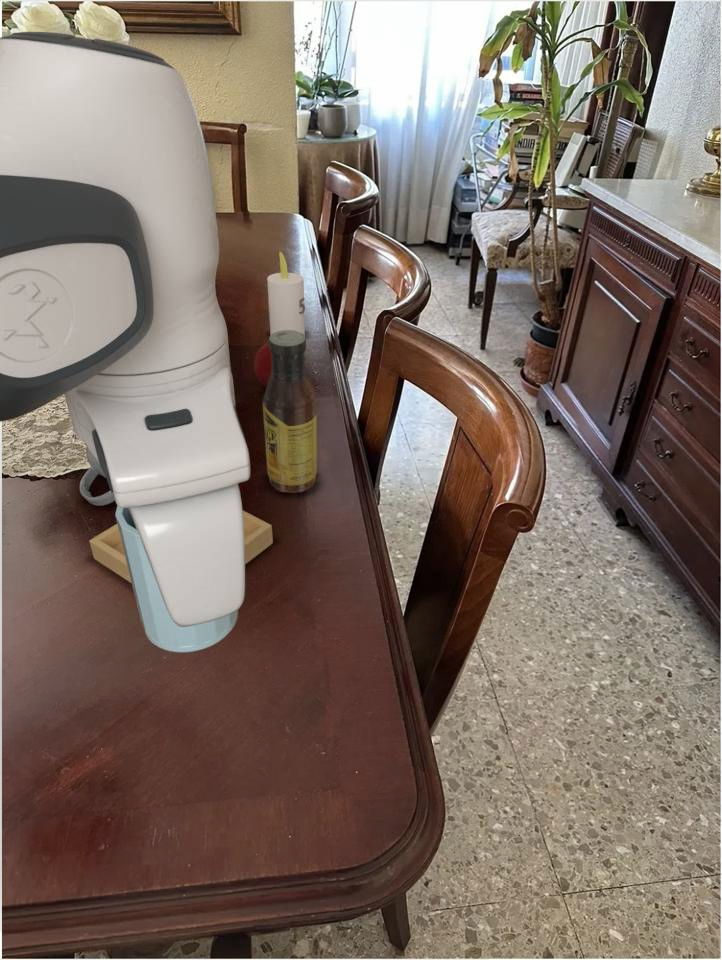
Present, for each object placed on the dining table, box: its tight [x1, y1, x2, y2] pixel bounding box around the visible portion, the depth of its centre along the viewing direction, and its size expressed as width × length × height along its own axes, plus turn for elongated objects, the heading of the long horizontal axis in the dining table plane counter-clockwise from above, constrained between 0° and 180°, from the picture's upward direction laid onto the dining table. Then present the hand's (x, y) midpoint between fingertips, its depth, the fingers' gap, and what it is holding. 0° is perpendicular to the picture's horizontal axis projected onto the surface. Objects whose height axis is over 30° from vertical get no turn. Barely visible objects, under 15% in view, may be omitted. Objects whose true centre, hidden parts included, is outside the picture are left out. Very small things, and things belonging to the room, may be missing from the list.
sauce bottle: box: [262, 330, 318, 494], centre depth 78 cm, size 7×6×20 cm
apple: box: [253, 341, 272, 389], centre depth 102 cm, size 8×8×8 cm
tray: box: [88, 510, 274, 584], centre depth 72 cm, size 14×14×3 cm
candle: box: [266, 251, 306, 337], centre depth 117 cm, size 6×6×15 cm
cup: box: [114, 504, 239, 653], centre depth 44 cm, size 7×7×10 cm
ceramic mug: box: [79, 446, 116, 507], centre depth 80 cm, size 11×8×8 cm
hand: (183, 572), depth 44 cm, fingers closed on cup, 7 cm apart
